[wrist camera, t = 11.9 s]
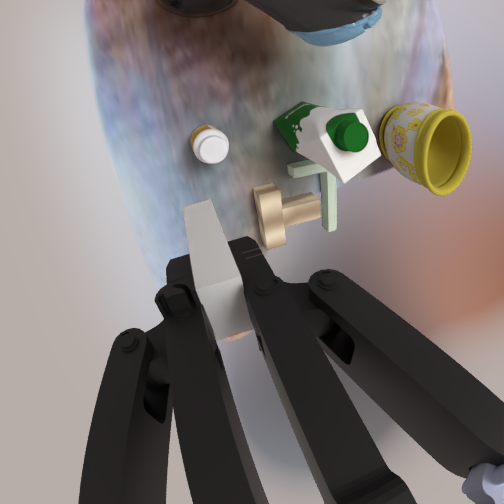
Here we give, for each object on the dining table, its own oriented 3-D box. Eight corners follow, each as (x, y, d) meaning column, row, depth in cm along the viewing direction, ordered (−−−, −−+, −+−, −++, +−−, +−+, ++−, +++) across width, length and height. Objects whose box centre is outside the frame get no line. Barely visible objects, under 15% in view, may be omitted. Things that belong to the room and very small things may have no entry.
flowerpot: (428, 145, 57) (476, 167, 43) (384, 183, 59) (433, 213, 46) (407, 85, 46) (463, 96, 33) (357, 120, 49) (414, 138, 36)
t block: (252, 187, 51) (259, 195, 48) (309, 174, 53) (319, 180, 50) (261, 239, 58) (267, 249, 55) (312, 225, 60) (321, 233, 57)
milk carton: (303, 95, 44) (373, 105, 28) (325, 133, 49) (395, 161, 33) (265, 120, 45) (322, 140, 29) (291, 158, 50) (350, 196, 34)
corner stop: (286, 164, 50) (293, 168, 48) (327, 156, 52) (335, 160, 49) (293, 234, 60) (299, 240, 57) (329, 223, 61) (336, 229, 59)
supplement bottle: (187, 151, 44) (191, 165, 36) (193, 122, 42) (199, 128, 34) (217, 156, 46) (227, 171, 38) (224, 127, 44) (237, 135, 36)
